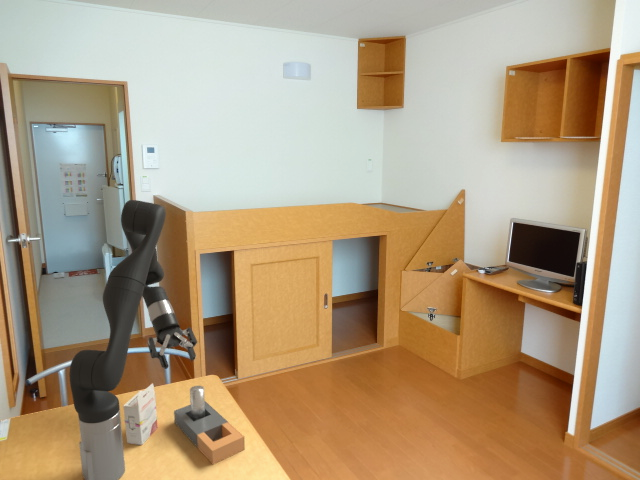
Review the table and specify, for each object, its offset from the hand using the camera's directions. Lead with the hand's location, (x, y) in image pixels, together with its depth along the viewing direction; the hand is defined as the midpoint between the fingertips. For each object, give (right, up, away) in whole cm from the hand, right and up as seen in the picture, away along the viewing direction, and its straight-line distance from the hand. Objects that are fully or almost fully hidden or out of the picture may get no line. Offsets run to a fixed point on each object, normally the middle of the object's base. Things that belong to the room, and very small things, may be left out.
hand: (180, 363), depth 145 cm
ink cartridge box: (-8, -18, -9) cm, 22 cm away
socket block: (+11, -18, -9) cm, 23 cm away
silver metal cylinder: (+7, -17, -5) cm, 19 cm away
